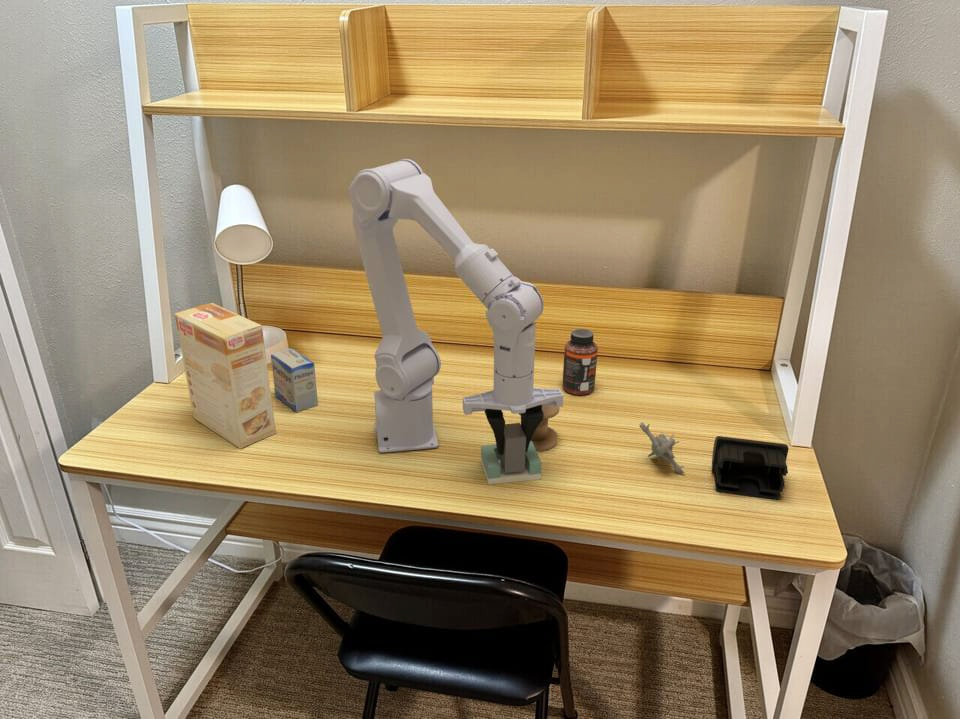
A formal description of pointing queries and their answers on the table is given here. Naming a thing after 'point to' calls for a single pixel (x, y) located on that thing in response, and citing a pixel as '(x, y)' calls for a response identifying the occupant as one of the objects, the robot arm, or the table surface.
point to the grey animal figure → (662, 447)
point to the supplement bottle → (580, 363)
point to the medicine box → (294, 379)
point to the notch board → (497, 474)
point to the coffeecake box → (226, 373)
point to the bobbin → (545, 430)
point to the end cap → (749, 467)
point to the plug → (513, 448)
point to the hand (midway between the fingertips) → (511, 450)
